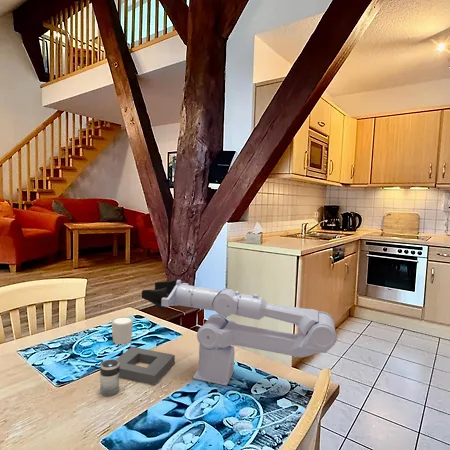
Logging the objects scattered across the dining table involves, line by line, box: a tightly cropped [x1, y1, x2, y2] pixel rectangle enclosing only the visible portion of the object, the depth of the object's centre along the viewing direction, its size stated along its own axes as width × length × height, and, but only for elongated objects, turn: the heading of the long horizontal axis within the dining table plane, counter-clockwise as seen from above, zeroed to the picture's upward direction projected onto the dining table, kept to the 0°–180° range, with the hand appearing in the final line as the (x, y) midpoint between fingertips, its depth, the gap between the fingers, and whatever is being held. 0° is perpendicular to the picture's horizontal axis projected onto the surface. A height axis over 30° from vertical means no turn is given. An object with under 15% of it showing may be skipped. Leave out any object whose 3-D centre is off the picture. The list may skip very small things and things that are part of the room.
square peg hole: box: [115, 346, 176, 386], centre depth 93 cm, size 14×12×2 cm
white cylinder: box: [111, 316, 134, 346], centre depth 110 cm, size 7×7×7 cm
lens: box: [99, 358, 120, 397], centre depth 82 cm, size 4×4×7 cm
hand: (149, 289), depth 95 cm, fingers open, 7 cm apart
